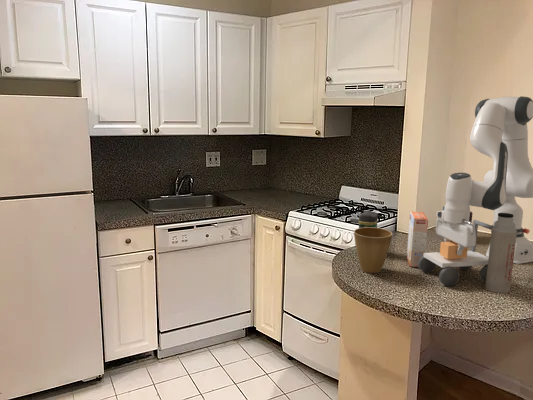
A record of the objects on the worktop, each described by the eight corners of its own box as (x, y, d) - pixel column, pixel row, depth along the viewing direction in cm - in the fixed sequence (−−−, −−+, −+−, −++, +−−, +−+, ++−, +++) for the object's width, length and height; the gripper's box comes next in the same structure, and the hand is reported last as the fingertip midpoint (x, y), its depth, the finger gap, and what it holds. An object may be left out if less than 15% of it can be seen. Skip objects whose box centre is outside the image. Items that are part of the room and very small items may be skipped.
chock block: (458, 253, 176) (459, 241, 175) (466, 257, 171) (467, 244, 170) (439, 254, 174) (440, 242, 173) (447, 258, 169) (448, 245, 168)
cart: (470, 268, 187) (475, 218, 184) (498, 282, 171) (504, 228, 167) (417, 271, 183) (421, 220, 179) (441, 287, 166) (446, 231, 162)
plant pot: (349, 263, 191) (351, 226, 188) (385, 264, 191) (387, 227, 188) (355, 276, 176) (357, 236, 174) (393, 277, 176) (396, 237, 173)
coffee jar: (360, 247, 214) (362, 209, 211) (377, 250, 211) (379, 211, 207) (355, 253, 206) (357, 213, 202) (372, 255, 202) (374, 215, 199)
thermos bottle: (514, 291, 163) (524, 215, 158) (499, 294, 160) (507, 217, 155) (495, 283, 170) (504, 210, 165) (480, 286, 167) (488, 212, 162)
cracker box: (424, 268, 187) (428, 218, 183) (409, 267, 188) (413, 217, 184) (420, 258, 200) (424, 211, 196) (406, 257, 201) (409, 210, 197)
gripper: (482, 222, 160) (478, 260, 163) (448, 210, 180) (445, 244, 183) (466, 223, 159) (462, 261, 162) (433, 211, 179) (431, 245, 181)
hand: (453, 252), depth 172 cm, fingers closed on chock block, 5 cm apart
